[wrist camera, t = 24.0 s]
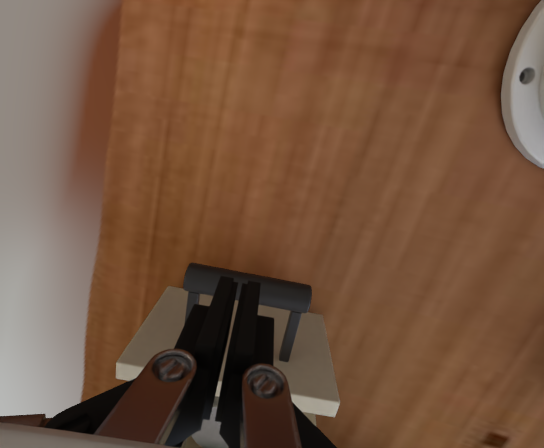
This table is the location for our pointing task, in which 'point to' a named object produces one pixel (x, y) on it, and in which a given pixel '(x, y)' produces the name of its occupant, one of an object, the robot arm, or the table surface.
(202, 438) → the cylinder
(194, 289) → the drawer
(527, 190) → the table surface
